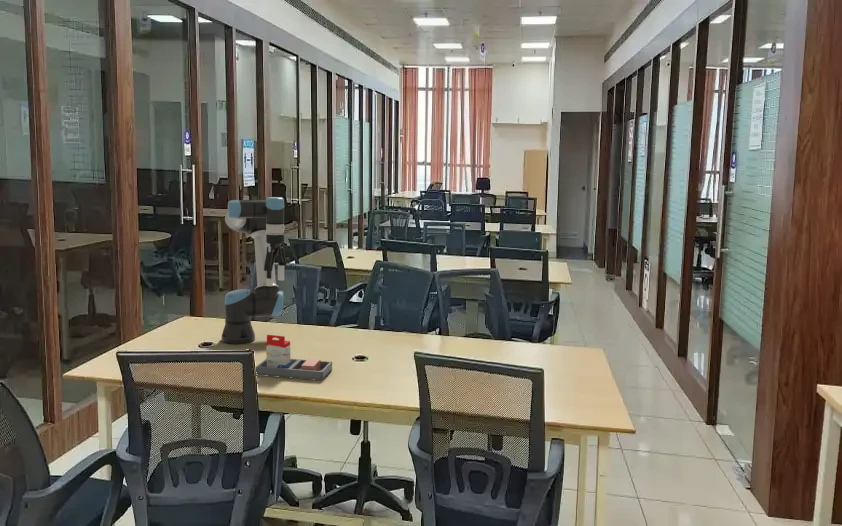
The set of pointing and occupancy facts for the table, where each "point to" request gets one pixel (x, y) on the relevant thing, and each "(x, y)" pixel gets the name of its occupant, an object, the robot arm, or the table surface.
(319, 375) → the caddy
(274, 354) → the ink box
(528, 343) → the table surface
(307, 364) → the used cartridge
